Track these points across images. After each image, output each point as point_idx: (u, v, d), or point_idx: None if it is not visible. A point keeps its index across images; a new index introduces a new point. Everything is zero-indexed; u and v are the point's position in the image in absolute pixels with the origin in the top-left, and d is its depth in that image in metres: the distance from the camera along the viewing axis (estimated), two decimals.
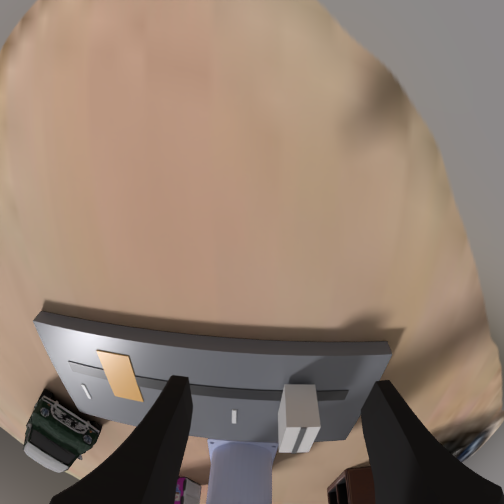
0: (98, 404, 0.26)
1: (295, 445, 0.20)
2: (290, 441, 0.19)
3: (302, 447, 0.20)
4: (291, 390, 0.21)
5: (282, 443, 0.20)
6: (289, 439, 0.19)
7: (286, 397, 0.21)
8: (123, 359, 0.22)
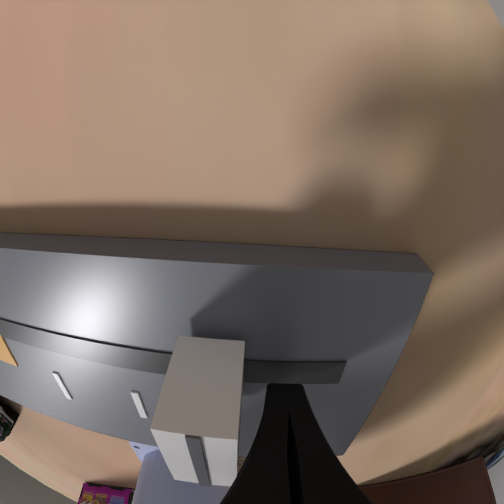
0: None
1: (198, 471, 0.08)
2: (182, 462, 0.08)
3: (217, 477, 0.09)
4: (188, 348, 0.10)
5: (168, 464, 0.08)
6: (178, 459, 0.08)
7: (172, 361, 0.09)
8: None
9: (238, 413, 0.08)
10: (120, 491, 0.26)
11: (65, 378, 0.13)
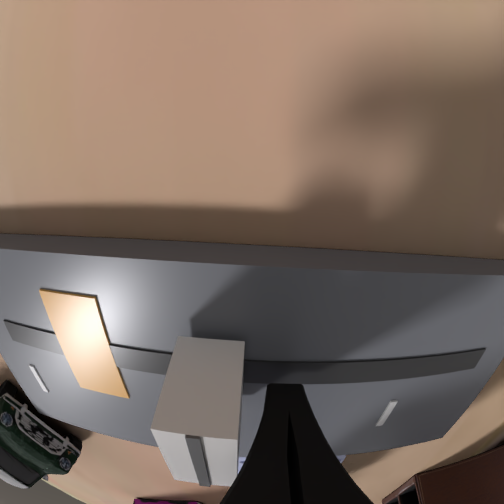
0: (59, 402, 0.15)
1: (198, 471, 0.08)
2: (182, 463, 0.08)
3: (217, 477, 0.09)
4: (188, 349, 0.10)
5: (169, 464, 0.08)
6: (178, 459, 0.08)
7: (173, 362, 0.09)
8: (87, 307, 0.11)
9: (238, 413, 0.08)
10: None
11: None
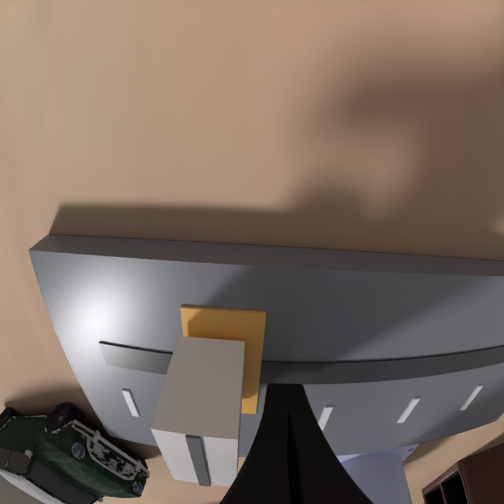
0: (149, 425, 0.15)
1: (198, 471, 0.08)
2: (182, 462, 0.08)
3: (217, 477, 0.09)
4: (188, 348, 0.10)
5: (168, 463, 0.08)
6: (177, 459, 0.08)
7: (173, 361, 0.09)
8: (248, 324, 0.11)
9: (238, 413, 0.08)
10: None
11: (337, 409, 0.13)
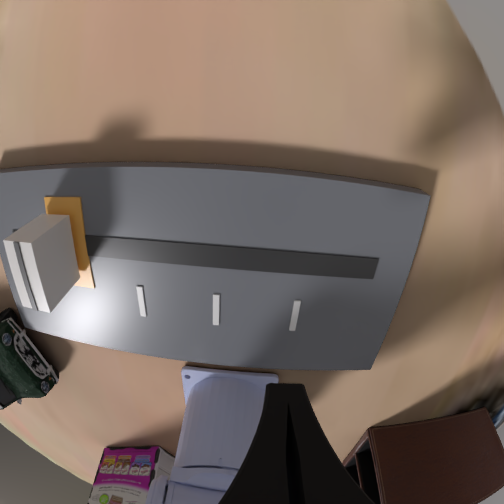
0: None
1: (28, 289, 0.14)
2: (19, 277, 0.14)
3: (37, 296, 0.14)
4: (41, 217, 0.16)
5: (15, 282, 0.14)
6: (16, 273, 0.13)
7: (31, 221, 0.15)
8: (74, 206, 0.16)
9: (40, 235, 0.13)
10: (145, 449, 0.31)
11: (148, 291, 0.19)
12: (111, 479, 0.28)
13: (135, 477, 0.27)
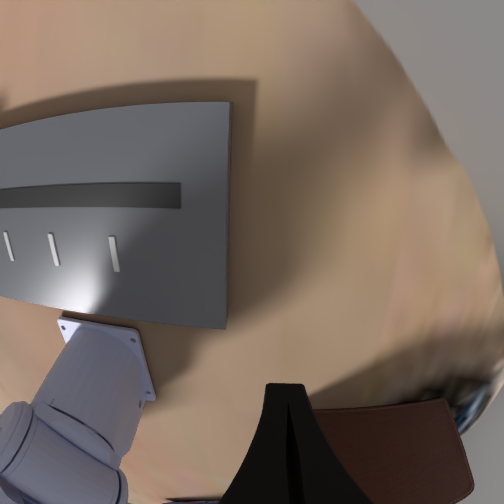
0: None
1: None
2: None
3: None
4: None
5: None
6: None
7: None
8: None
9: None
10: None
11: (11, 236, 0.17)
12: None
13: None
